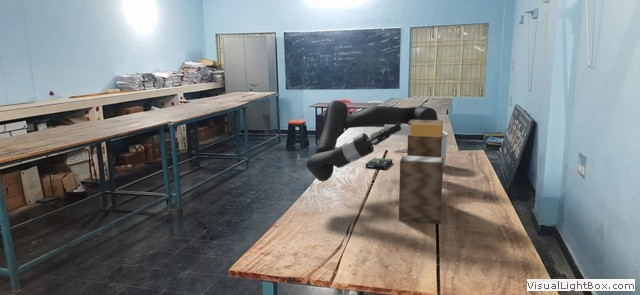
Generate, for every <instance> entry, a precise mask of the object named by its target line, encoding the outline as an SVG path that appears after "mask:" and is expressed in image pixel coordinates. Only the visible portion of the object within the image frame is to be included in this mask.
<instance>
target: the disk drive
mask: <svg viewBox="0 0 640 295" xmlns="http://www.w3.org/2000/svg"><path fill="white" fill-rule="evenodd" d="M392 164H393V159H392V158H383V157H382V158H381V157H380V158H379V157H375V158H372V159H371V160H368V162H366V163H365V169H371V170H378V171H379V170H383V171H385V170H387V168H389V167H390V166H391V165H392Z"/></svg>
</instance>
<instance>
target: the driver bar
mask: <svg viewBox="0 0 640 295" xmlns="http://www.w3.org/2000/svg"><path fill="white" fill-rule="evenodd" d="M393 126H395V125H386V124H385V125H384V127H383V129H384V131H385V130H386V129H389V128H391V127H393ZM400 127H401V130H400V131H398V132H396V133H394V134H392V135H391V136H407V137H408V136H425V137H441V132H442V131H443V127H442V123H418V122H412V123H411V125H408V124H401V125H400Z"/></svg>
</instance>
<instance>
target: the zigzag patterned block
mask: <svg viewBox="0 0 640 295" xmlns="http://www.w3.org/2000/svg"><path fill="white" fill-rule="evenodd" d="M412 122H418V123H442V128H443V127H444V126H443V122H444V121H443V120H442V119H441V120H439V119H438V120H410V121H409V122H408V124H407V125H411V123H412ZM407 148H408V149H407V152H406V153H407V155H402V156H401V159H400V160H399V189H398V190H399V194H398V198H399V199H398V204H399V205H398V221H402V222H405V221H406V222H412V221H413V223H414V222H415V223H422V224H423V223H425V224H434V225H435V224H437V225H441V221H442V205H443V204H442V203H443V179H444V168H443V160H444V158H442V157H441V150H442V132H441V137H425V136H408V135H407Z"/></svg>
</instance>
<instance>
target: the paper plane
mask: <svg viewBox="0 0 640 295" xmlns="http://www.w3.org/2000/svg"><path fill="white" fill-rule="evenodd" d="M407 149H408V147H405V148H401V149H397V150H395V152H399V153H407Z"/></svg>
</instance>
